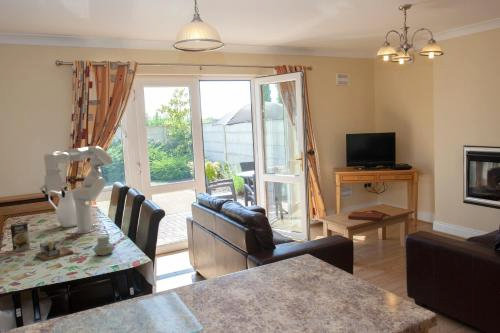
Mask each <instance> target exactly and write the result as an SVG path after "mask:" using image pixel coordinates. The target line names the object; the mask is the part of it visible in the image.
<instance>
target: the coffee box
mask: <svg viewBox="0 0 500 333" xmlns="http://www.w3.org/2000/svg"><path fill="white" fill-rule="evenodd" d="M10 233H11V242H12V251H13V252H20V251H24V250H25V251H26V250H30V249H31V243H30V234H29V223H28V222H20V223H12V224H10Z"/></svg>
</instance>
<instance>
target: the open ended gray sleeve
mask: <svg viewBox="0 0 500 333" xmlns="http://www.w3.org/2000/svg"><path fill="white" fill-rule="evenodd" d="M49 242H52V243H53V251H49ZM39 248H40V252H42V253H43V254H45V255H46V256H47V257H50V256H54V255H58V254H60V250H59V249H58V248H59V247H57V246H56V243H55V242H54V241H53V240H50V241H46V242H42V243H39Z"/></svg>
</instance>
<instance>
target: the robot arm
mask: <svg viewBox="0 0 500 333" xmlns="http://www.w3.org/2000/svg"><path fill="white" fill-rule="evenodd" d="M43 157H44V158H43V159H44V169H45V175H44V178H43V179H44V184H43V185H41V187H39V188H38V190H39V191H40V192H41V193H42V194H44V199H45V200H46V201H48V200H49V196H48V192H50V191H57V190H58V191H59V190H60V191H62V192H61V193H62V197H63V198H65V191H67V189H68V186H69V183H66V182H63V179H62V175H61V173H62V170H61V169H59V164H67V163H68V162H76V161H77V162H78V161H82V160H86V159H90V160H89V165H90V171H89V173H88V174H87V176H86V177H84V179H83V181H82V187H75V188H76V189H75V188H74V191H73V194H72V195H73V199H74V202H75V208H76V217H77V225H76V226H77V229H76V230H75V233H76V234H77V235H78V234H79V235H80V234H88V233H92V232H94V231H95V230H96V229H95V227H100V223H93V221H92V211H91V204H90V202H94V201H95V200H97V198H98V197H99V195H101V193H102V191H103V190H104V188H105V185H106V181H105V178H103V177H102V174H103V172H102V169H101V168H102V167H105V168H106V167H109V166H111V165H112V163H113V159H112V157H111V155H110V154H108V153H107V151H106V150H104V149H103V148H102V147H100V146H99V145H91V146H90V145H87V146H81V147H77V148H76V147H74V148H70V149H65V150H59V151H53V152H50V153H46V154H44V155H43ZM60 172H61V173H60Z"/></svg>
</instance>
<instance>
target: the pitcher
mask: <svg viewBox="0 0 500 333" xmlns="http://www.w3.org/2000/svg"><path fill="white" fill-rule="evenodd" d="M76 188H77V187H75V188H74V189H76ZM74 189H70V190H68V191H67V190H65V198H63V197H62V193H61V192H62V190H60V191H59V190H58V191H57V190H52V191H49V192H48V193H47V194H48V196H49V200H47V202H49V203H50V205H51V206H52V207H53V208H54V210H55V215H56V220H57V222H58V223H59V225H60V226H61V228H62V227H63V228H72V227H76V226H77V217H76V208H75V202H74V199H73V195H72V194H73V191H74ZM51 194H55V195H57V196H58V198H59V201H58V203H57V204H58V205H57V206H56V205H55V204H54V202H52V200H51Z"/></svg>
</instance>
